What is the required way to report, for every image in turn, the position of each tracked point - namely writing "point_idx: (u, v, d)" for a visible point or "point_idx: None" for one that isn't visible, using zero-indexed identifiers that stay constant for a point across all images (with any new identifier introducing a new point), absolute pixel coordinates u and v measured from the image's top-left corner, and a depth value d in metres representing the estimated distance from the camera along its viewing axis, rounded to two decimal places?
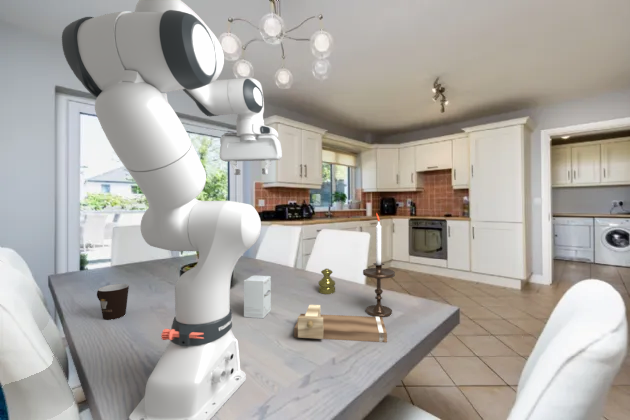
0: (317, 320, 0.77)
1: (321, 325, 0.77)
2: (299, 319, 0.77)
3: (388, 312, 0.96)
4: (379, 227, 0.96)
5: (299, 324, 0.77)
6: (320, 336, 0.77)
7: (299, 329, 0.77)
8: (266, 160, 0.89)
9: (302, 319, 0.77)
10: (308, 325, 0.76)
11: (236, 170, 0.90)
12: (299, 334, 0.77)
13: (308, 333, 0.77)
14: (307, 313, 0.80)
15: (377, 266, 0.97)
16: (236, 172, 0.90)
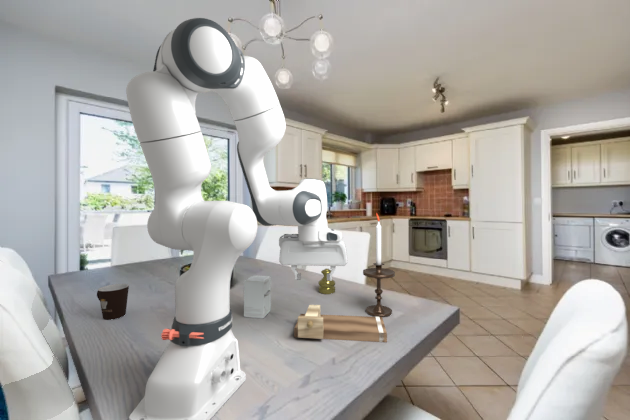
0: (317, 320, 0.77)
1: (321, 325, 0.77)
2: (299, 319, 0.77)
3: (388, 312, 0.96)
4: (379, 227, 0.96)
5: (299, 324, 0.77)
6: (320, 336, 0.77)
7: (299, 329, 0.77)
8: (331, 266, 0.81)
9: (302, 319, 0.77)
10: (308, 325, 0.76)
11: (297, 276, 0.83)
12: (299, 334, 0.77)
13: (308, 333, 0.77)
14: (307, 313, 0.80)
15: (377, 266, 0.97)
16: (297, 278, 0.83)
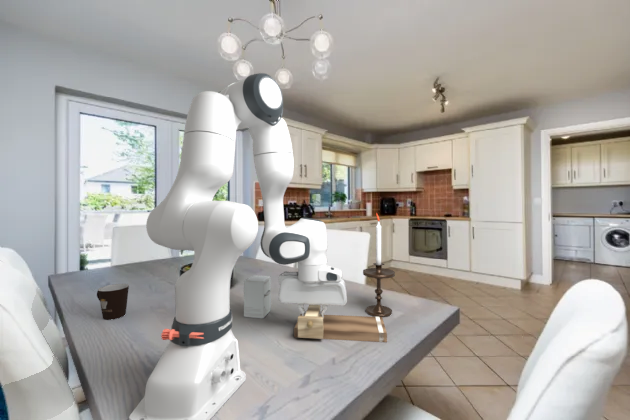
0: (317, 320, 0.77)
1: (321, 325, 0.77)
2: (299, 319, 0.77)
3: (388, 312, 0.96)
4: (379, 227, 0.96)
5: (299, 324, 0.77)
6: (320, 336, 0.77)
7: (299, 329, 0.77)
8: (323, 305, 0.81)
9: (302, 319, 0.77)
10: (308, 325, 0.76)
11: (304, 314, 0.82)
12: (299, 334, 0.77)
13: (308, 333, 0.77)
14: (307, 313, 0.80)
15: (377, 266, 0.97)
16: None
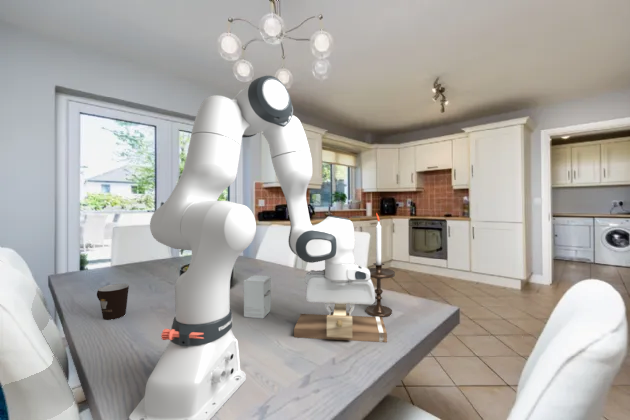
0: (346, 319, 0.76)
1: (350, 324, 0.76)
2: (328, 318, 0.76)
3: (388, 312, 0.96)
4: (379, 227, 0.96)
5: (328, 323, 0.77)
6: (349, 335, 0.76)
7: (328, 328, 0.77)
8: (351, 304, 0.81)
9: (331, 318, 0.76)
10: (338, 324, 0.75)
11: (332, 313, 0.81)
12: (328, 333, 0.77)
13: (337, 332, 0.76)
14: (335, 312, 0.80)
15: (377, 266, 0.97)
16: None
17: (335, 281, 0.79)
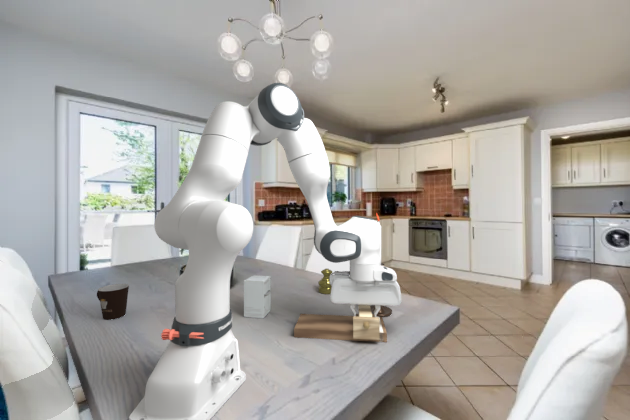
0: (373, 321, 0.75)
1: (378, 326, 0.75)
2: (355, 319, 0.75)
3: (388, 312, 0.96)
4: (379, 227, 0.96)
5: (355, 325, 0.76)
6: (377, 337, 0.75)
7: (354, 330, 0.76)
8: (376, 306, 0.80)
9: (358, 320, 0.75)
10: (365, 326, 0.74)
11: (357, 315, 0.80)
12: (354, 335, 0.76)
13: (364, 334, 0.75)
14: (360, 314, 0.79)
15: None
16: None
17: (361, 282, 0.78)
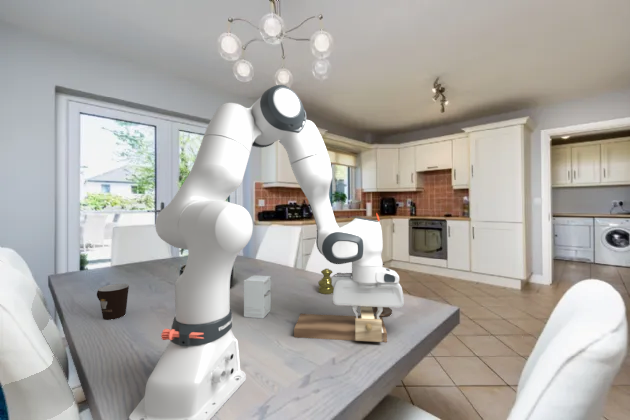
0: (376, 323, 0.75)
1: (380, 328, 0.75)
2: (357, 321, 0.75)
3: (388, 312, 0.96)
4: None
5: (357, 327, 0.75)
6: (379, 339, 0.75)
7: (357, 332, 0.75)
8: (379, 307, 0.79)
9: (360, 322, 0.75)
10: (367, 328, 0.74)
11: (359, 317, 0.80)
12: (357, 337, 0.75)
13: (366, 336, 0.75)
14: (363, 315, 0.78)
15: None
16: None
17: (363, 284, 0.78)
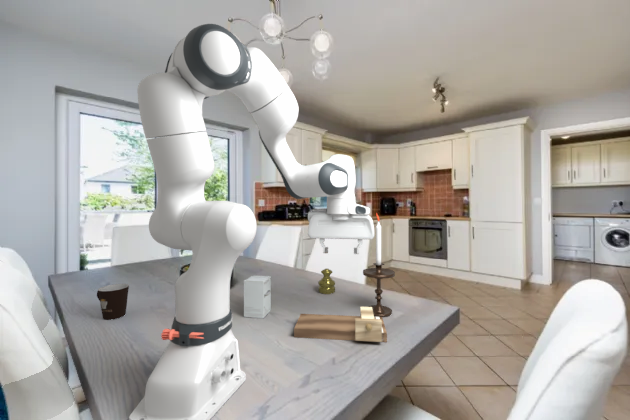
0: (376, 323, 0.75)
1: (380, 328, 0.75)
2: (357, 321, 0.75)
3: (388, 312, 0.96)
4: (379, 227, 0.96)
5: (357, 327, 0.75)
6: (379, 339, 0.75)
7: (357, 332, 0.75)
8: (359, 240, 0.84)
9: (360, 322, 0.75)
10: (367, 328, 0.74)
11: (325, 249, 0.85)
12: (357, 337, 0.75)
13: (366, 336, 0.75)
14: (363, 315, 0.78)
15: (377, 266, 0.97)
16: (325, 251, 0.85)
17: (336, 216, 0.83)
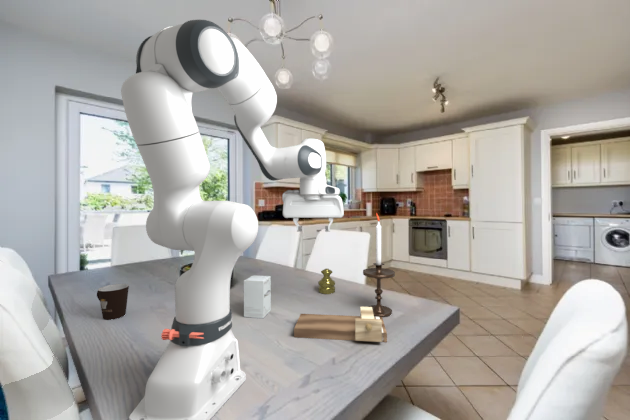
0: (376, 323, 0.75)
1: (380, 328, 0.75)
2: (357, 321, 0.75)
3: (388, 312, 0.96)
4: (379, 227, 0.96)
5: (357, 327, 0.75)
6: (379, 339, 0.75)
7: (357, 332, 0.75)
8: (329, 218, 0.90)
9: (360, 322, 0.75)
10: (367, 328, 0.74)
11: (299, 227, 0.92)
12: (357, 337, 0.75)
13: (366, 336, 0.75)
14: (363, 315, 0.78)
15: (377, 266, 0.97)
16: (299, 229, 0.92)
17: (308, 196, 0.89)
